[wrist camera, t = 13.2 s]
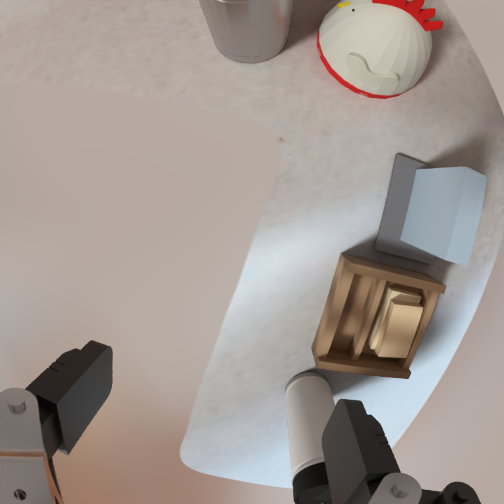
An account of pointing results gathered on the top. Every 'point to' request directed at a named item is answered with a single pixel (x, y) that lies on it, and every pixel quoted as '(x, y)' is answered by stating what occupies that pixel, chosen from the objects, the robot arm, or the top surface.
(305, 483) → the travel mug
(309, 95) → the top surface
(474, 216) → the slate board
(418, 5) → the kitchen timer
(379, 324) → the offcut lower
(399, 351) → the offcut upper
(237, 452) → the top surface
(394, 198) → the mat
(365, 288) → the rack
